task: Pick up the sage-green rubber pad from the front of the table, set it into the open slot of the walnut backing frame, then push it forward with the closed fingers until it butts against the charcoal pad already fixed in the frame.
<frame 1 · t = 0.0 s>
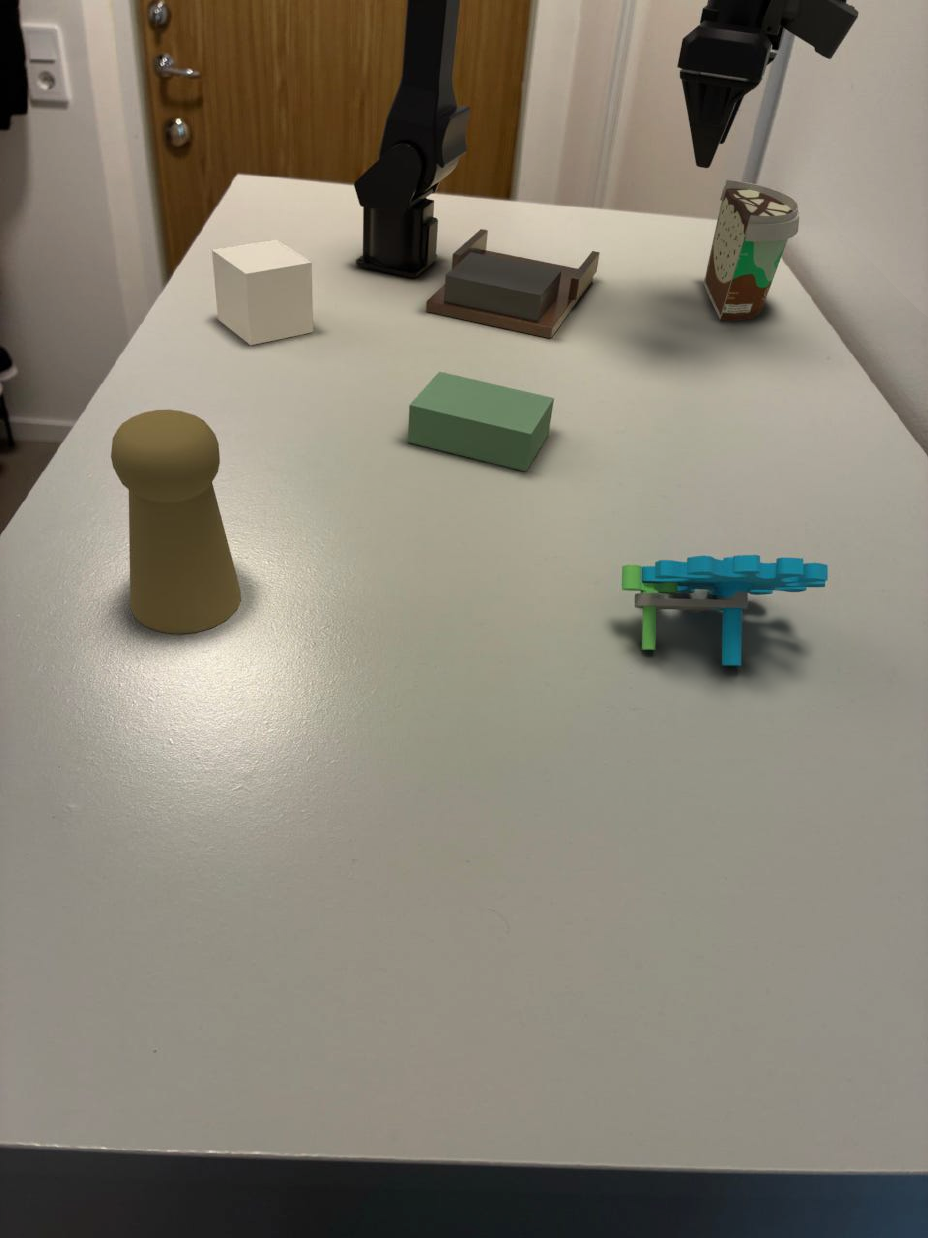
hand: (710, 154, 81), 15 cm above the table, tool pointing down, fingers open, 9 cm apart
backing frame: (513, 295, 92), on the table
cork: (186, 601, 53), on the table
sage pad: (479, 438, 70), on the table
gear: (705, 631, 55), on the table
cream cube: (265, 327, 82), on the table
food container: (741, 306, 95), on the table
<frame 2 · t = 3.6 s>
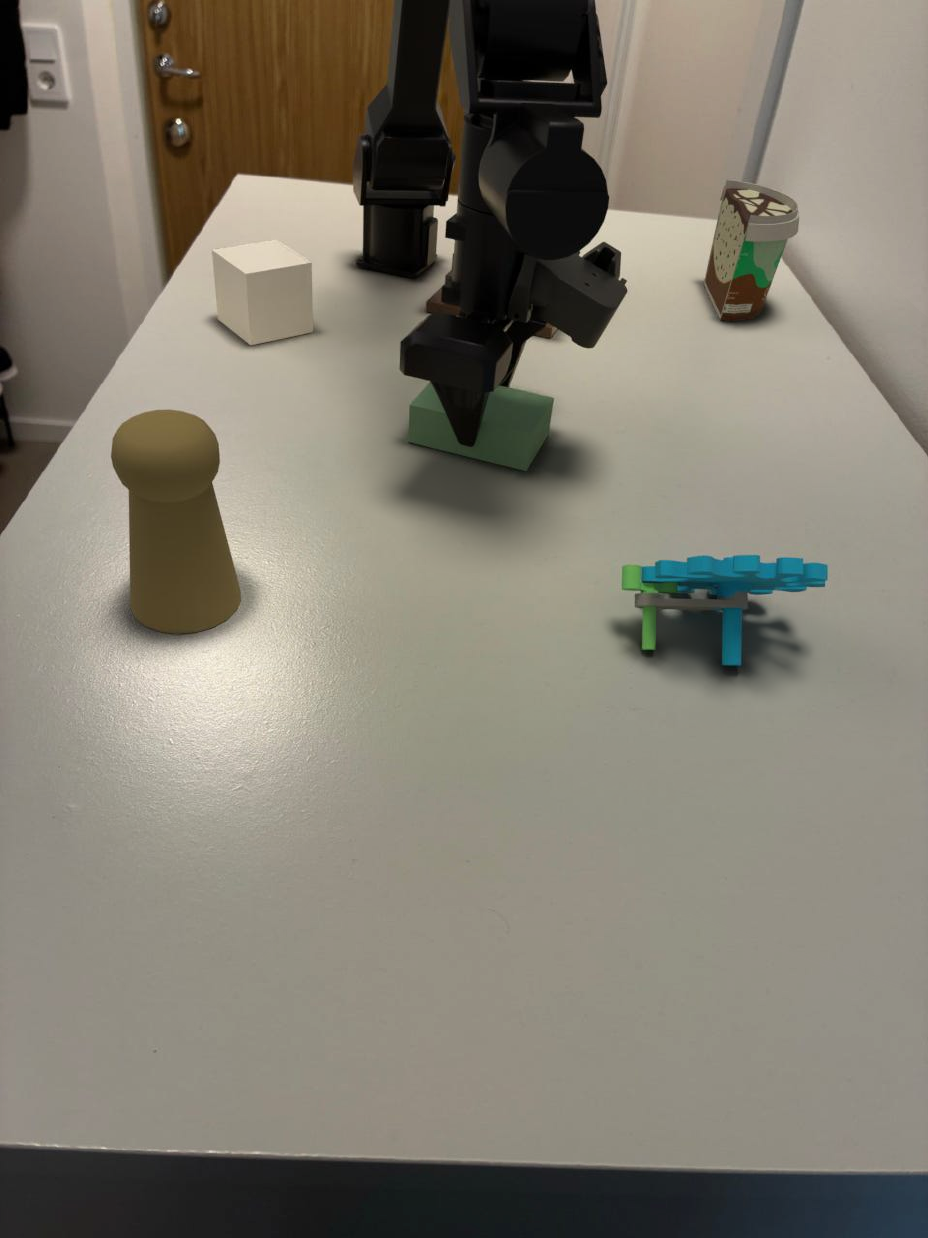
hand: (480, 425, 69), 1 cm above the table, tool pointing down, fingers closed on sage pad, 6 cm apart
sage pad: (479, 437, 70), on the table, touching gripper
everything else where it was.
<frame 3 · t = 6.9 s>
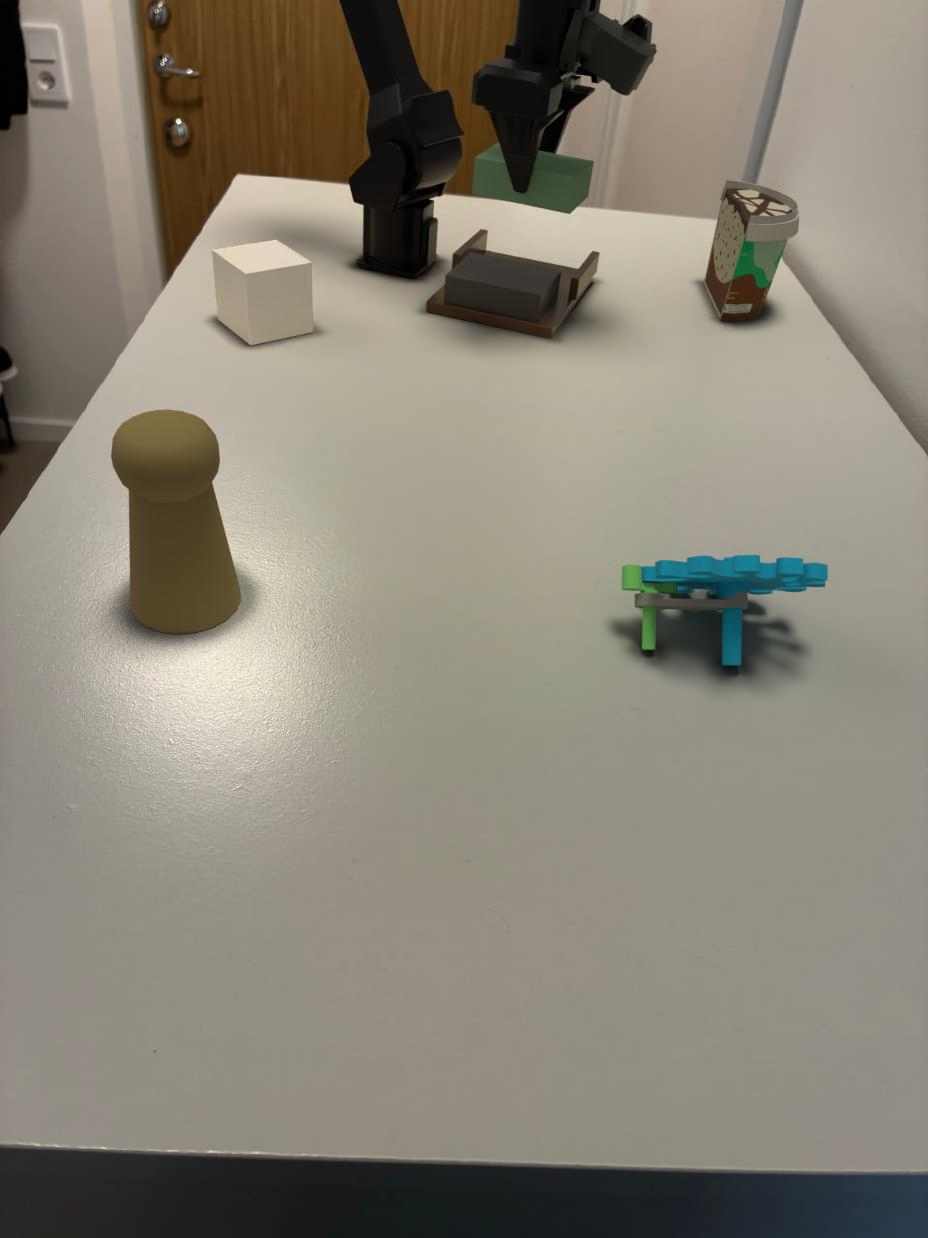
hand: (531, 183, 83), 11 cm above the table, tool pointing down, fingers closed on sage pad, 6 cm apart
sage pad: (530, 195, 84), point 10 cm above the table, touching gripper
everything else where it was.
when the fingers open (2 cm above the table, at t = 10.1 s): sage pad stays where it is, resting on backing frame.
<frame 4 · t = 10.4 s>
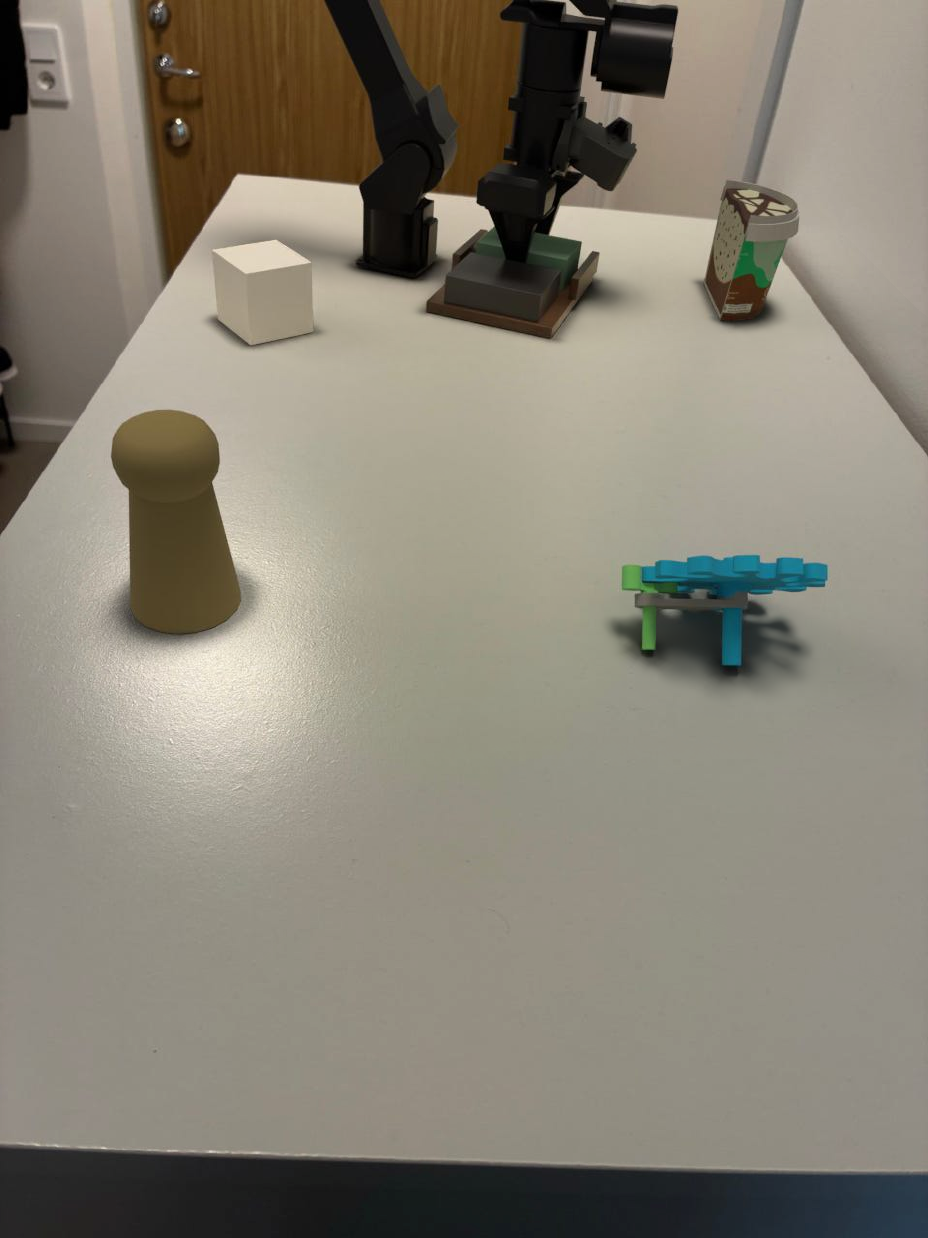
hand: (527, 261, 94), 2 cm above the table, tool pointing down, fingers open, 7 cm apart
sage pad: (526, 272, 94), point 1 cm above the table, touching backing frame
everything else where it was.
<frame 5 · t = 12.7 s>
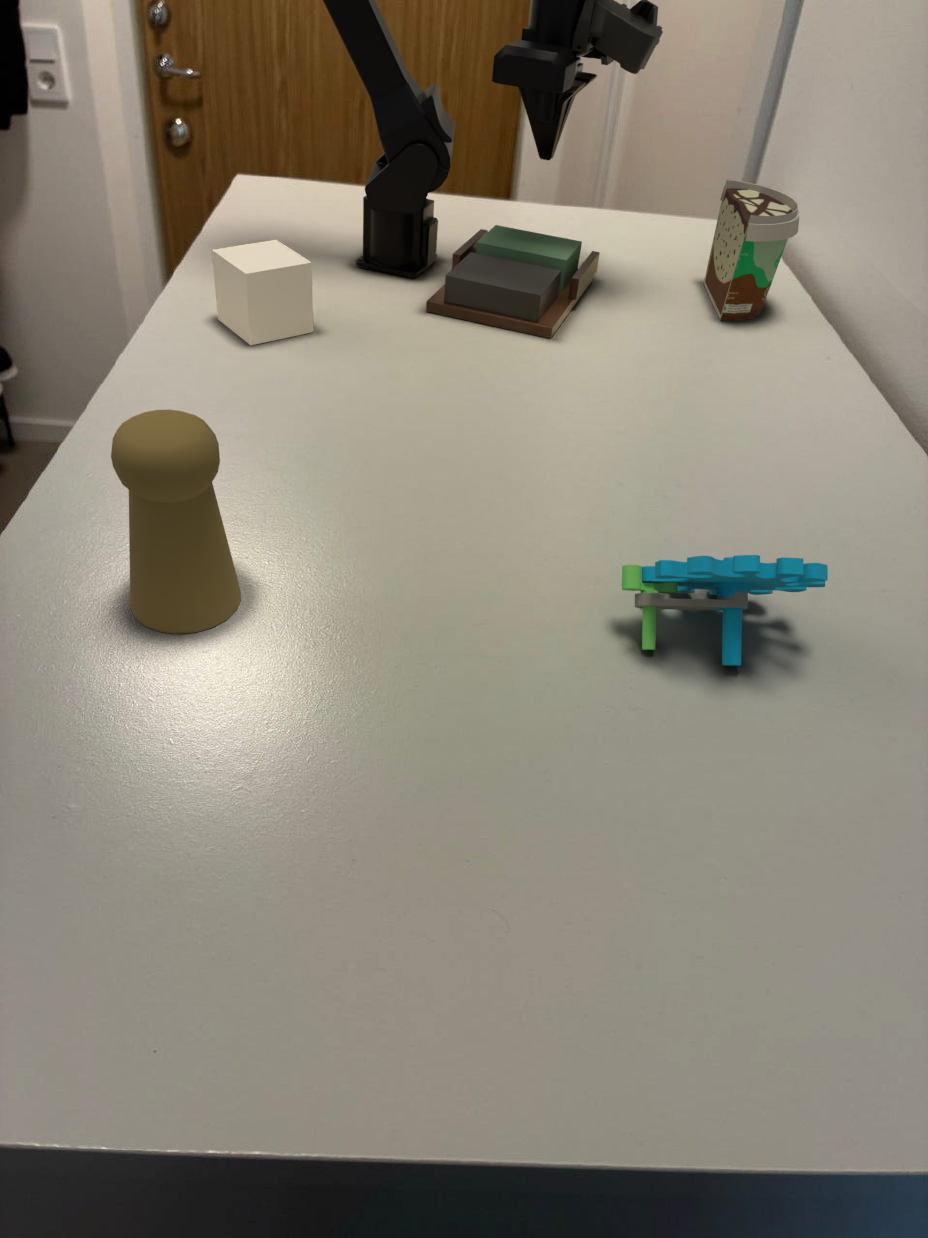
hand: (546, 158, 89), 11 cm above the table, tool pointing down, fingers closed
nothing on the table moved.
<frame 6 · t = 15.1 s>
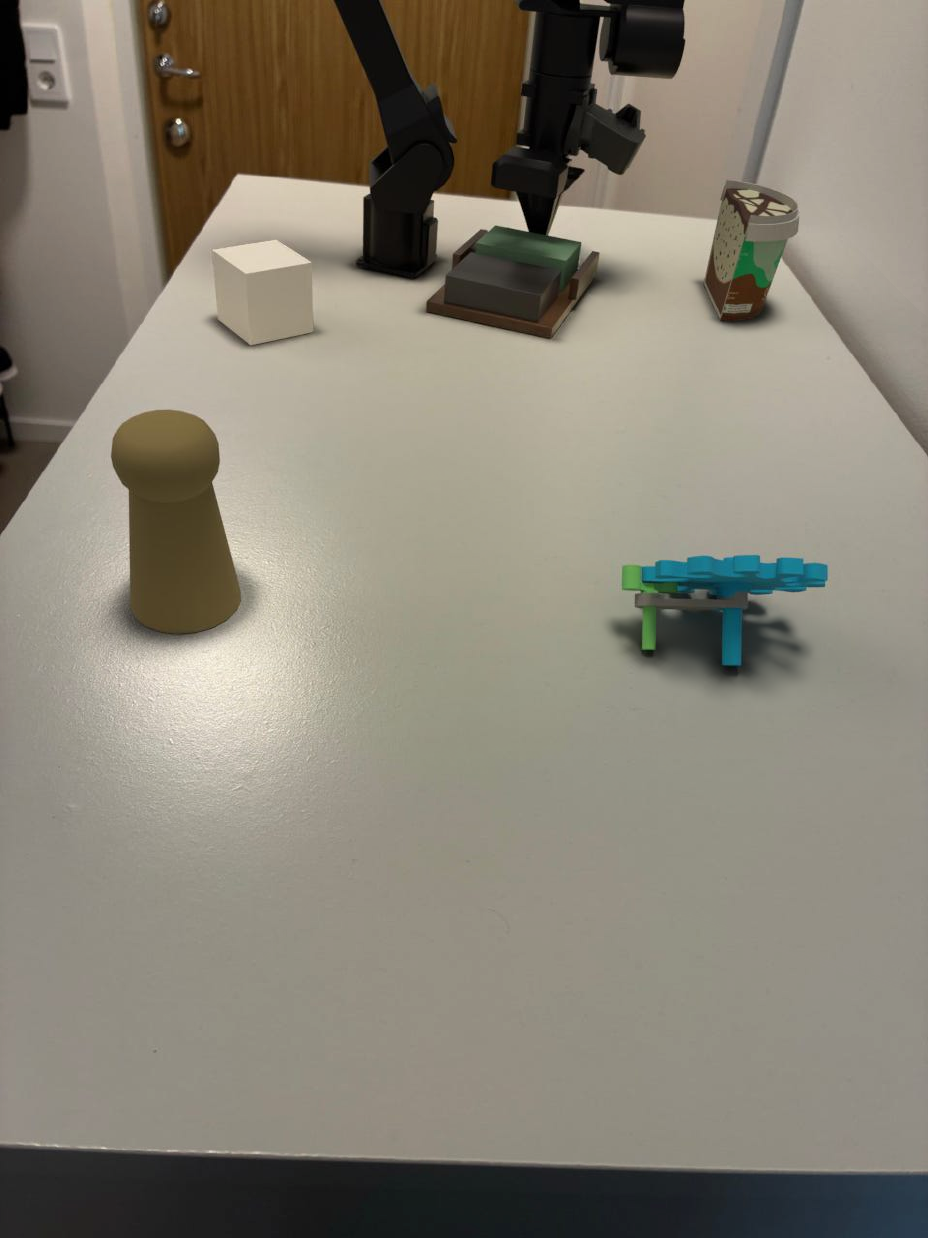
hand: (538, 245, 96), 2 cm above the table, tool pointing down, fingers closed
sage pad: (525, 272, 94), point 1 cm above the table, touching backing frame, gripper
everything else where it was.
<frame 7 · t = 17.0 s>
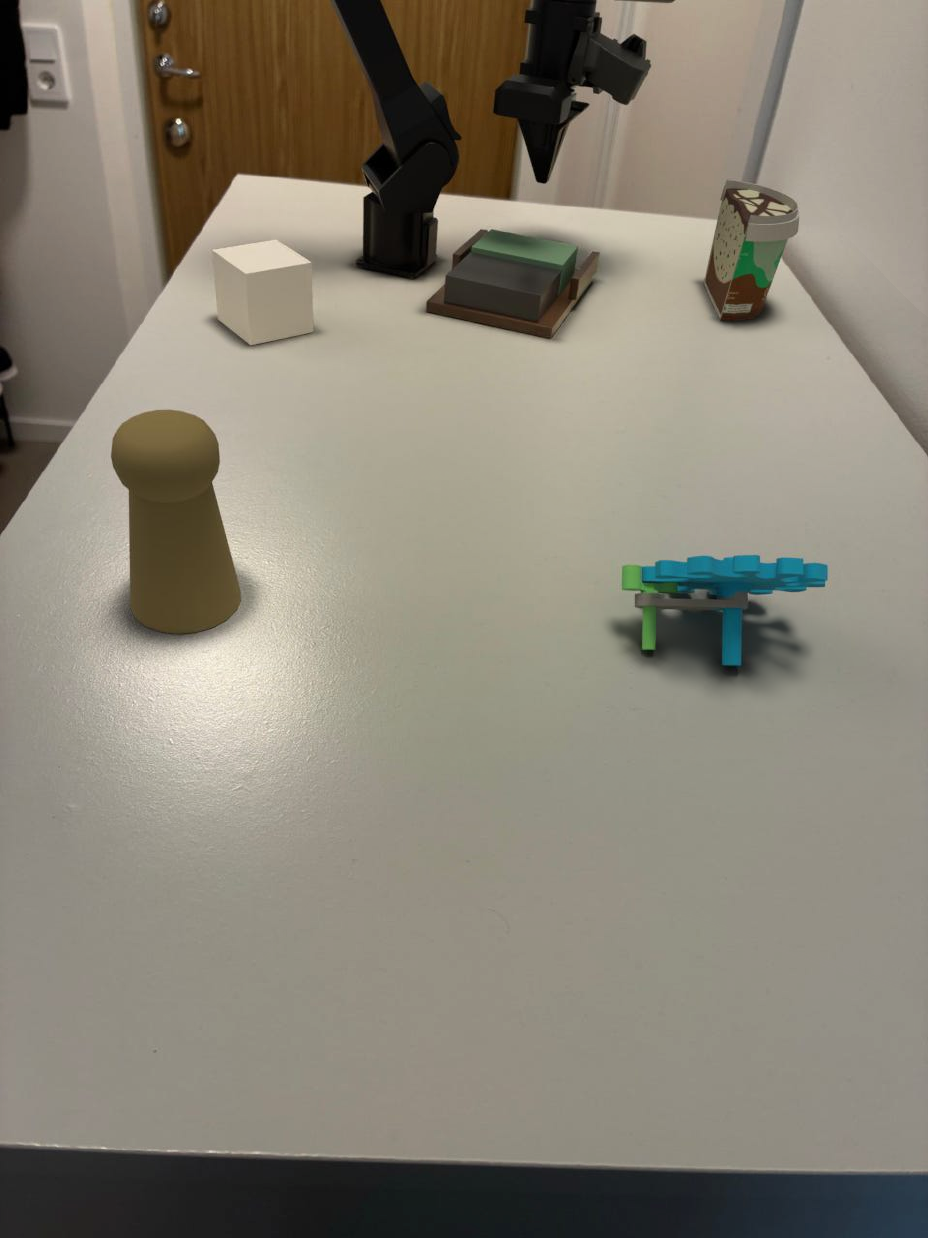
hand: (542, 182, 95), 8 cm above the table, tool pointing down, fingers closed
sage pad: (522, 277, 93), point 1 cm above the table, touching backing frame
everything else where it was.
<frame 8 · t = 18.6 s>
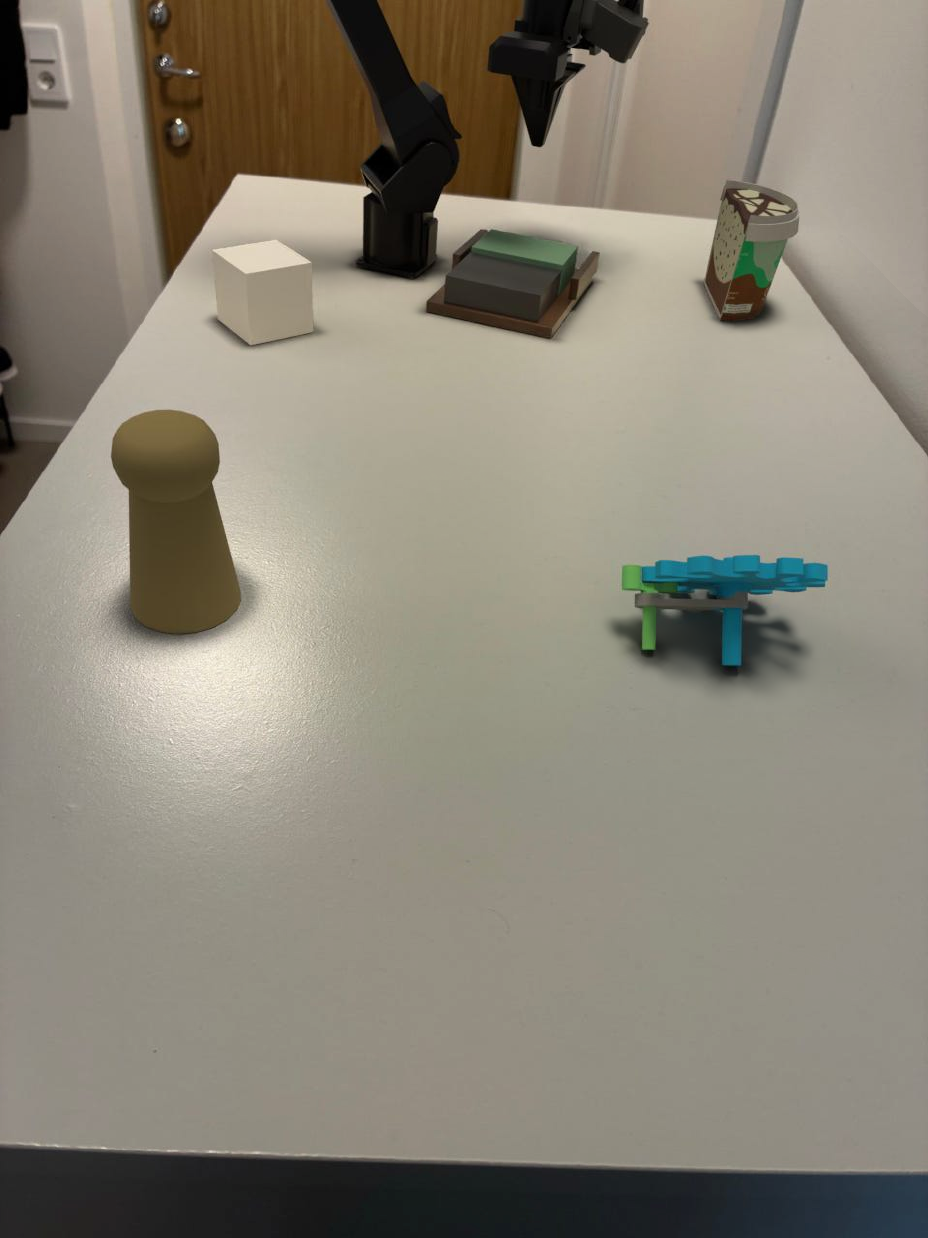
hand: (537, 145, 93), 11 cm above the table, tool pointing down, fingers closed
nothing on the table moved.
at the end: sage pad 0.0 cm from the target spot on the backing frame, point 1.0 cm above the backing frame's base; sage pad tilted 0° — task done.
